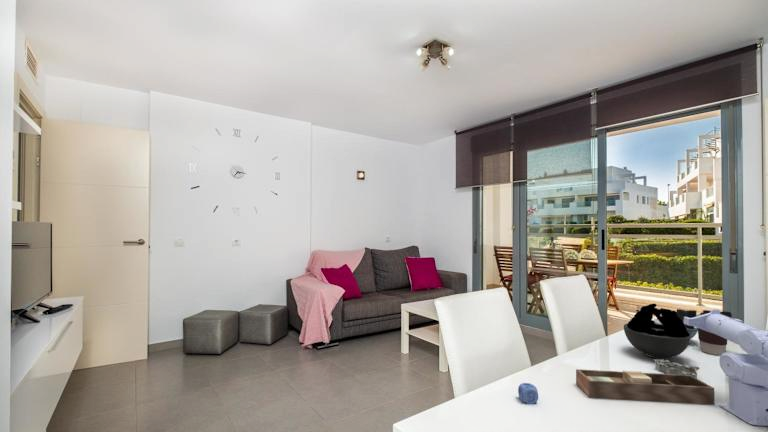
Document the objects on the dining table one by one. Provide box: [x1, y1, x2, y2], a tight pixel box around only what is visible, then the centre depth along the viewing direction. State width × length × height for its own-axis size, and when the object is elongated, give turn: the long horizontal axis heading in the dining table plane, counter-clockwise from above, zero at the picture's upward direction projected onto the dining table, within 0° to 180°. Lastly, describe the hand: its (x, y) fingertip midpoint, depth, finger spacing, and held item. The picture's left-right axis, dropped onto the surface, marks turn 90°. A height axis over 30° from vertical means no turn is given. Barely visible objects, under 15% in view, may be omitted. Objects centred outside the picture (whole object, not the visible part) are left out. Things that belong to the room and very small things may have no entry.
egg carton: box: [654, 358, 700, 379], centre depth 118 cm, size 11×8×4 cm
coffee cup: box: [696, 311, 728, 357], centre depth 139 cm, size 10×10×15 cm
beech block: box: [622, 370, 652, 384], centre depth 103 cm, size 5×5×2 cm
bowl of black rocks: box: [623, 303, 692, 359], centre depth 134 cm, size 20×20×19 cm
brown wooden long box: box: [575, 368, 715, 406], centre depth 103 cm, size 32×9×4 cm, turn 85°
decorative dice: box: [517, 382, 539, 405], centre depth 98 cm, size 4×4×4 cm
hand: (690, 312), depth 111 cm, fingers open, 7 cm apart
